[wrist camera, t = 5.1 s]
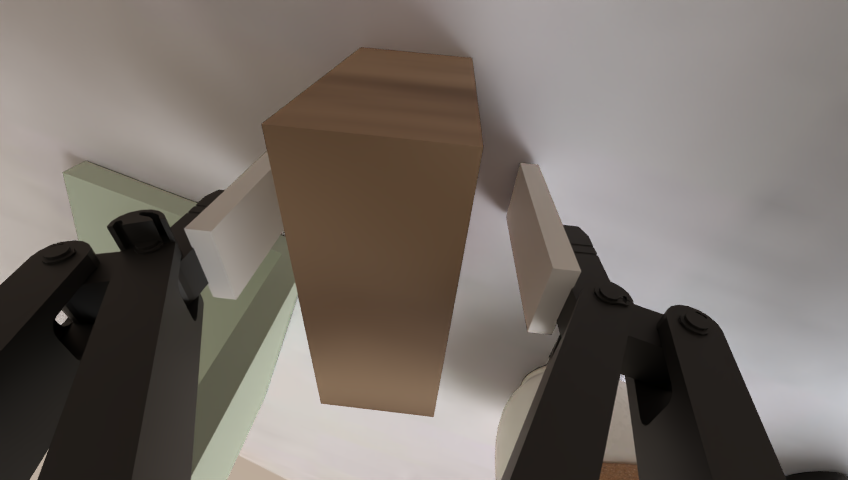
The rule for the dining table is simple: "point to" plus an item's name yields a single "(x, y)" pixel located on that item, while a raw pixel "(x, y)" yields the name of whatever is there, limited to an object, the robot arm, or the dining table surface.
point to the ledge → (222, 318)
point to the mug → (817, 476)
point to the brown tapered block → (378, 219)
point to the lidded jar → (620, 450)
